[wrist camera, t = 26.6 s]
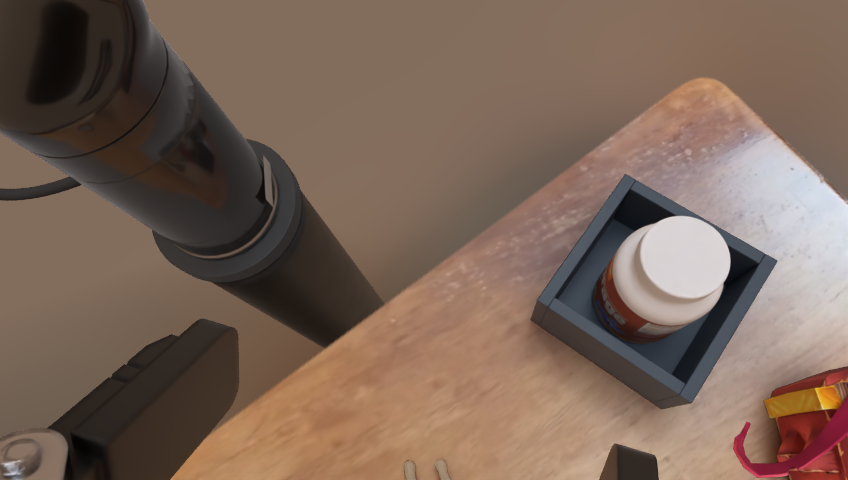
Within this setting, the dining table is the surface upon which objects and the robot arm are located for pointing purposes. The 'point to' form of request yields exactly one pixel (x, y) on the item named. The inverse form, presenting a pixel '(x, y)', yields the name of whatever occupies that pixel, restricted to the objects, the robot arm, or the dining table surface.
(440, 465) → the anatomical model
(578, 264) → the bin
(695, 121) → the dining table surface
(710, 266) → the pill bottle
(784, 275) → the dining table surface
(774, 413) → the book monster
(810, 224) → the dining table surface
